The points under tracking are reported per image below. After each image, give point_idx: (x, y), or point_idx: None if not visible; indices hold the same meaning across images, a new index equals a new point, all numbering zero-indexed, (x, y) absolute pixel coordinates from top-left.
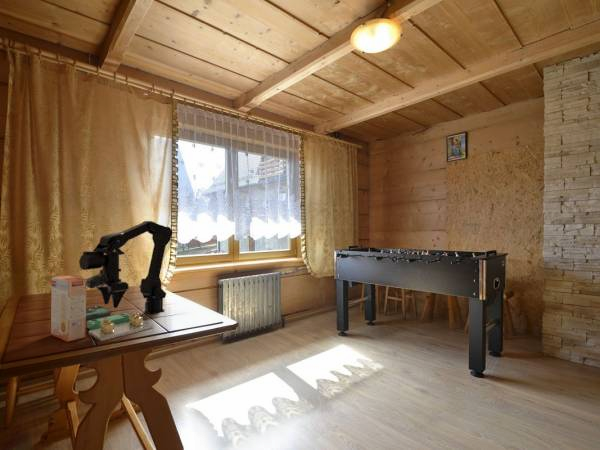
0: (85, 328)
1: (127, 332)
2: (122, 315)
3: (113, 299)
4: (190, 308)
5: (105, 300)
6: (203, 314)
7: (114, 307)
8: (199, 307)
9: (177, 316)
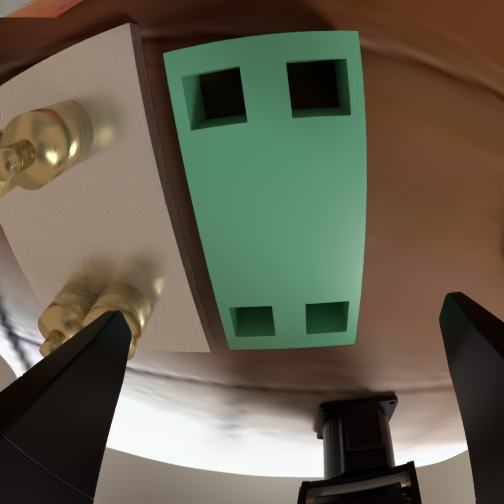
0: (13, 16)
1: (7, 231)
2: (299, 314)
3: (10, 384)
4: (273, 466)
5: (467, 336)
6: (164, 453)
7: (107, 315)
8: (262, 474)
9: (191, 428)
